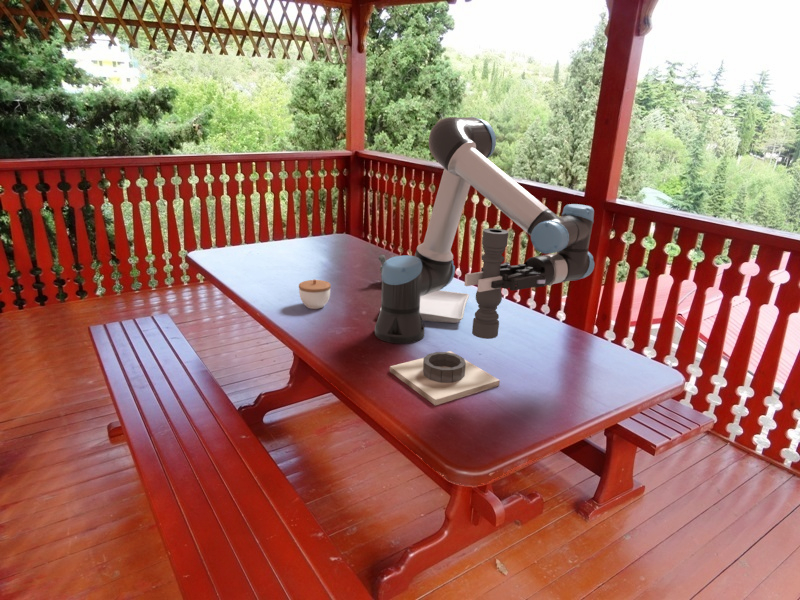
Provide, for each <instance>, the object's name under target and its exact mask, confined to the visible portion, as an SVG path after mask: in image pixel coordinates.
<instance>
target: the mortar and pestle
mask: <svg viewBox="0 0 800 600" xmlns="http://www.w3.org/2000/svg"><path fill="white" fill-rule="evenodd" d="M386 257H387V256H386V255H385V254H381V255H379V256H378V259H377V260H378V261H379V262H380V264H381V265H380V266H379V267H380V268H379V271H380V274H382V268H383V264H384V262H385V261H386V260H387V259H386Z"/></svg>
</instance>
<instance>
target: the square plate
mask: <svg viewBox="0 0 800 600" xmlns="http://www.w3.org/2000/svg"><path fill="white" fill-rule="evenodd" d="M469 298H470V294H469V293H464V292H463V293H462V292H454V291H447V290H442V289H441V290H438V291H434V292H432V293H429V294H426V295H423V296H421V297H420V314H421V317H422V321H425V322H426V321H428V322H435V323H452V324H454V323H459V322H460V321H462V320H463V319H464V315H465V311H466V310H465V309H466V305H467V304H468V303H467V302H468V301H469ZM380 311H381V307H380V309H379V312H380Z"/></svg>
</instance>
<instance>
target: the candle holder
mask: <svg viewBox="0 0 800 600" xmlns="http://www.w3.org/2000/svg"><path fill="white" fill-rule="evenodd" d="M482 231H483V232H482V238H481V239H482V240H481V245H482V249H483V252H484V254H482V255H481V261H483V267H484V268H483V275H482V278H481V279H485V278H491V277H498V276H499V275H500V266H501V264H503V263H504V262H505V257H504V256H503V254H504V252H505V251H506V248H507V247H508V239H509V231H508V230H506V229H502V228H493V227H489V228H483V230H482ZM502 295H503V293H502V288H499V289H493V290H488V291H483V292H478V291H477V290H476V292H475V300H476V303H477V304H478V305H477V306H478V309H477V310H476V311H475V312H474V318H473V319H472V328H471V330H472V331H471V334H472V335H473V336H474V337H477V338H479V339H484V340H487V339H488V340H493V339H496V338H497V337H498V335H499V327H500V320H498V319H499V318H500V315H499V313H498V312H497V310H498V306H499V305H500V304H501V303H502V299H503V296H502Z"/></svg>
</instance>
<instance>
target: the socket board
mask: <svg viewBox="0 0 800 600" xmlns="http://www.w3.org/2000/svg"><path fill="white" fill-rule="evenodd" d="M389 373H391V374H392V375H394V376H395V378H398V379H399V380H400V381H401V382H403V383H404V384H406V385H408V386H409V388H411V389H412V390H414V391H415V392H416V393H418V394H419V395H420V396H422V398H425V400H426V401H428V402H430V403H431V404H432V405H434V406H435V407H436V406H439V405H441V404H445V403H448V402H451V401H455V400H458V399H461V398H464V397H467V396H470V395H474V394H476V393H480V392H482V391H486V390H489V389H493V388H496V387H499V386H500V379H498V378H497V377H495V376H493V375H492V374H490V373H489V372H487V371H485V370H483V369H481V368H480V367H478V366H476V365H475V364H473V363H471V362H470V361H468V360H467V359H465V358H464V357H462V356H460V355H459V354H456V353H455V352H453V351H451V350H448V351H435V352H432V353H431V352H430V353H428V354H426V356H424V357H422V358H421V357H420V358H418V359H414V360H409V361H406V362H403V363H402V362H401V363H398V364H394V365H390V366H389Z"/></svg>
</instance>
